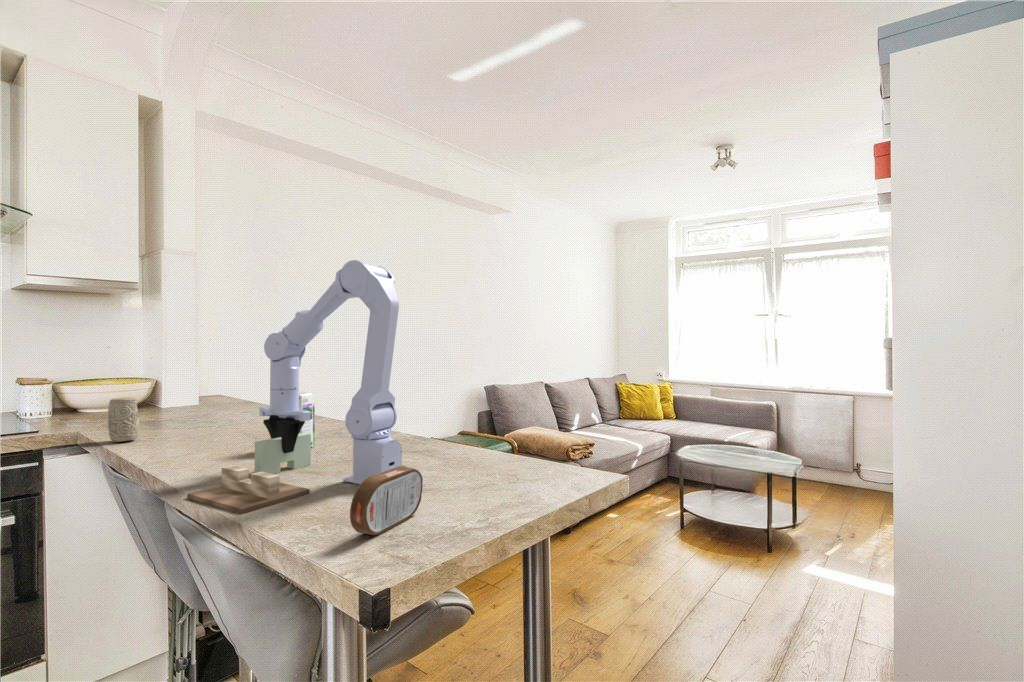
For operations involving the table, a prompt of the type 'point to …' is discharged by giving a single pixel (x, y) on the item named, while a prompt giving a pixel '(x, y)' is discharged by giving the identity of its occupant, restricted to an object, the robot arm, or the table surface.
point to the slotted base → (244, 498)
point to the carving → (123, 419)
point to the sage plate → (282, 454)
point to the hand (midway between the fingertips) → (283, 451)
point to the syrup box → (308, 404)
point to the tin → (386, 500)
